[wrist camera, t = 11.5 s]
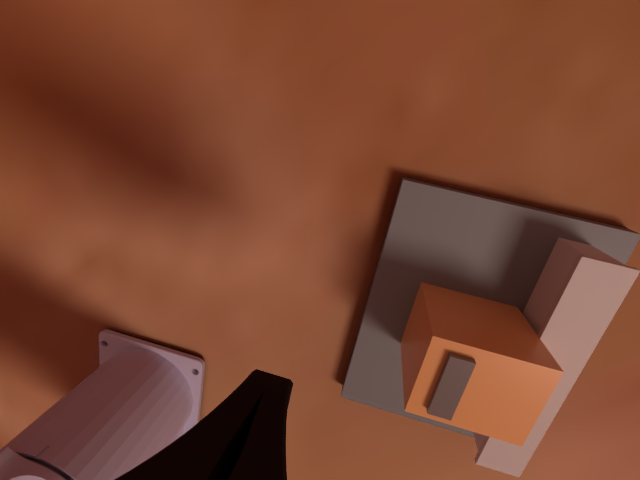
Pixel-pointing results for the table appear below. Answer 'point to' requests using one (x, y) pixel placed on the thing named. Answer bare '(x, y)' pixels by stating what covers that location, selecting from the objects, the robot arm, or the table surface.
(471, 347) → the block
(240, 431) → the robot arm
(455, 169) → the table surface
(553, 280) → the board
